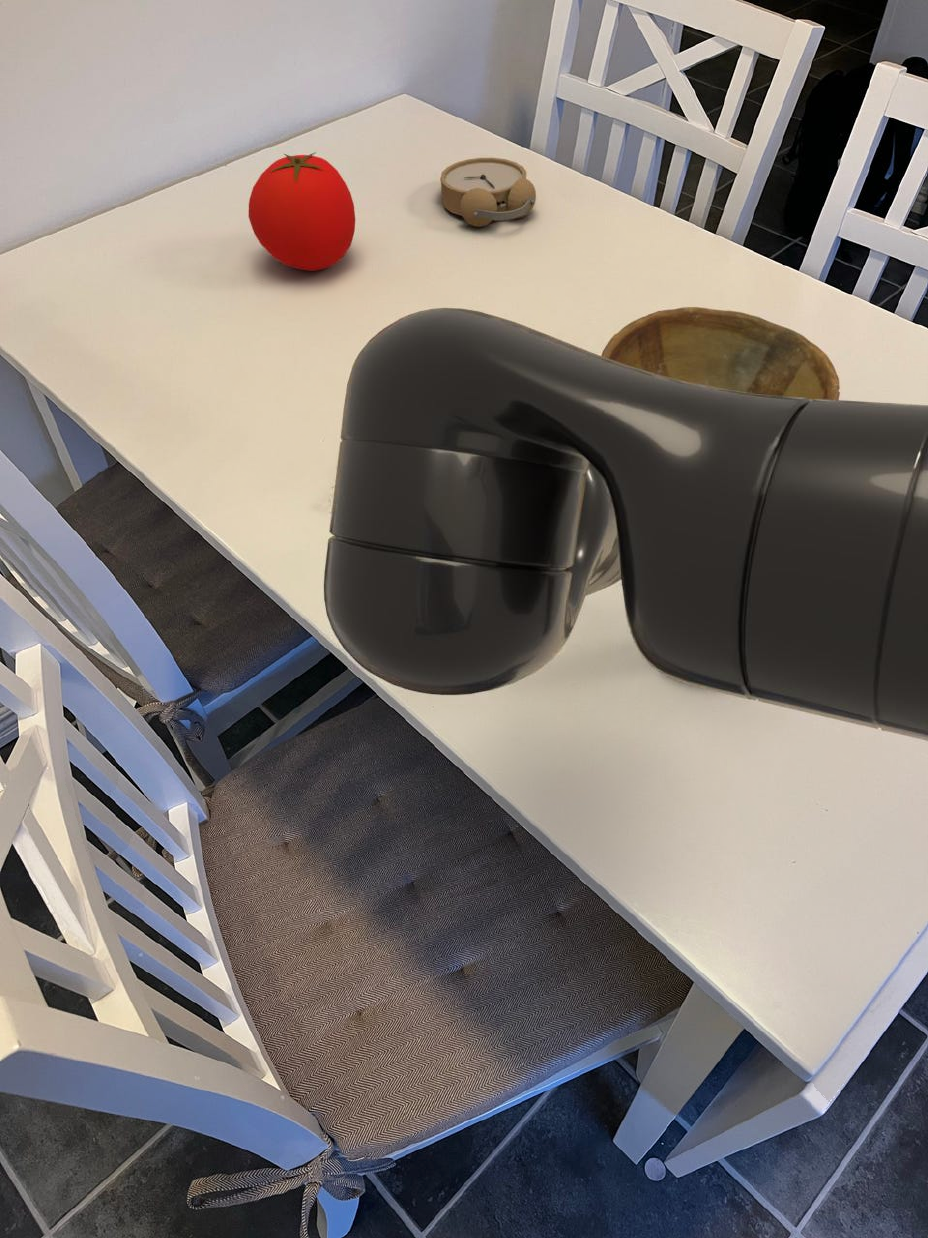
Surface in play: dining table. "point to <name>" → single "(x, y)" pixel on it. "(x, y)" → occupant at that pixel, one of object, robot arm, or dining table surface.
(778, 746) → the dining table surface
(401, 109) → the dining table surface
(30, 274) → the dining table surface
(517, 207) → the alarm clock
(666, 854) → the dining table surface
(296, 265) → the tomato
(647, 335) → the bowl
